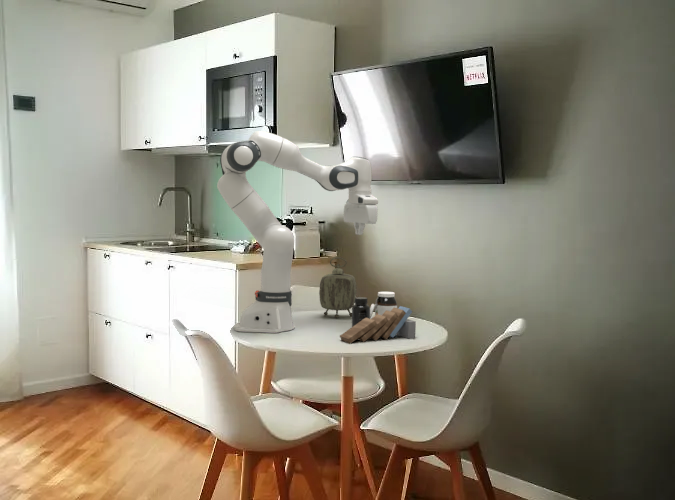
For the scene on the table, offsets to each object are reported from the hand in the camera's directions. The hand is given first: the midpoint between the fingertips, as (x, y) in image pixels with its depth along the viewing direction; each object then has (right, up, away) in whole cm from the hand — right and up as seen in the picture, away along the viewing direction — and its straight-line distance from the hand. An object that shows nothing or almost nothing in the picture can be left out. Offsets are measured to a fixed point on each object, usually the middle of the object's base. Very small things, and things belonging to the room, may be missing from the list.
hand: (359, 234), depth 264 cm
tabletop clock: (-9, -34, +16) cm, 39 cm away
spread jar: (+9, -35, +9) cm, 37 cm away
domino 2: (-1, -37, -29) cm, 47 cm away
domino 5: (+9, -36, -23) cm, 44 cm away
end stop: (+15, -37, -20) cm, 45 cm away
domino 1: (-6, -37, -32) cm, 49 cm away
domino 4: (+7, -37, -25) cm, 45 cm away
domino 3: (+3, -37, -27) cm, 45 cm away
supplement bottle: (0, -36, -9) cm, 37 cm away
